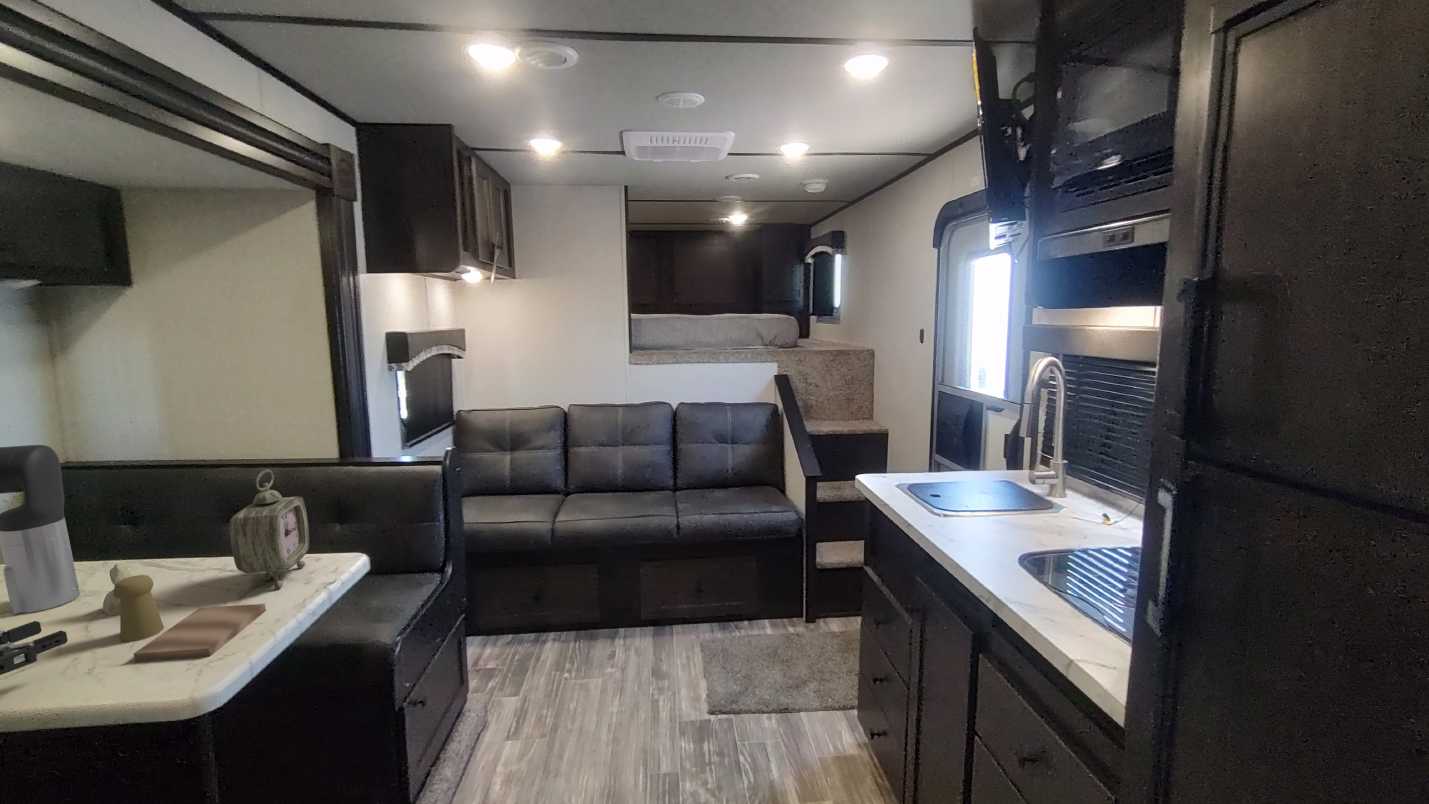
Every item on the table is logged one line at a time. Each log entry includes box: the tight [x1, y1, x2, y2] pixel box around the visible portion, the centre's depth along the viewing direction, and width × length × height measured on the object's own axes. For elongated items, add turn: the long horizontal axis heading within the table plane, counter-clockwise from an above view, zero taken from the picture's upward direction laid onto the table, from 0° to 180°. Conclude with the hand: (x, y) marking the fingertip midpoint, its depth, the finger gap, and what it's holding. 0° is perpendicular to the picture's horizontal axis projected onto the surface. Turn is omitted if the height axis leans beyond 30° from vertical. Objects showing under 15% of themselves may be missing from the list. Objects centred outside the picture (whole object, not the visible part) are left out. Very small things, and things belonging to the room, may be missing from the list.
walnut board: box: [133, 603, 267, 662], centre depth 114 cm, size 16×12×2 cm
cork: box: [113, 574, 165, 643], centre depth 114 cm, size 6×6×11 cm
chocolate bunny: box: [102, 562, 135, 616], centre depth 123 cm, size 6×8×10 cm
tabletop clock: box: [229, 469, 310, 590], centre depth 134 cm, size 14×9×25 cm, turn 12°
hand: (52, 630), depth 103 cm, fingers open, 8 cm apart
